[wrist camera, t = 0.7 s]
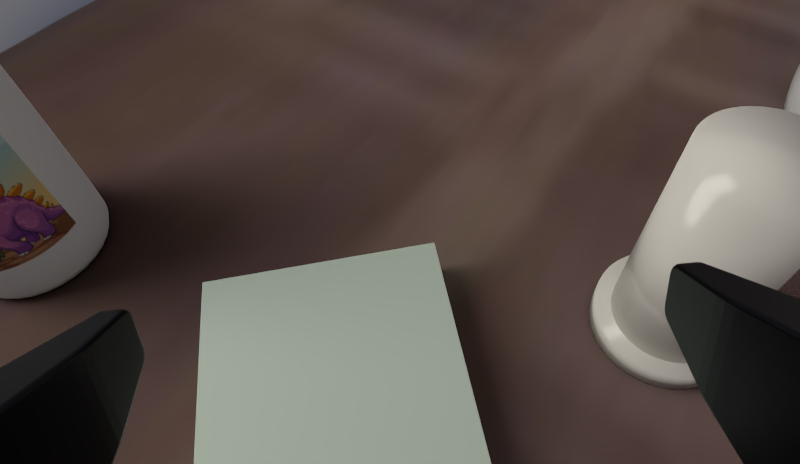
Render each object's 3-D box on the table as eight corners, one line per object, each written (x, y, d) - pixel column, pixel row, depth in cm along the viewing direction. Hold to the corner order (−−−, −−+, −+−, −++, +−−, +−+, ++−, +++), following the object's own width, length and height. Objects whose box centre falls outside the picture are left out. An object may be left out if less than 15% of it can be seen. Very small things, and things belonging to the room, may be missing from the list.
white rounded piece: (763, 336, 25) (941, 175, 16) (669, 418, 23) (813, 286, 14) (651, 244, 28) (749, 68, 20) (560, 310, 27) (623, 147, 18)
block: (491, 500, 22) (497, 487, 20) (212, 557, 21) (189, 549, 19) (434, 269, 28) (434, 242, 26) (218, 307, 28) (202, 282, 26)
